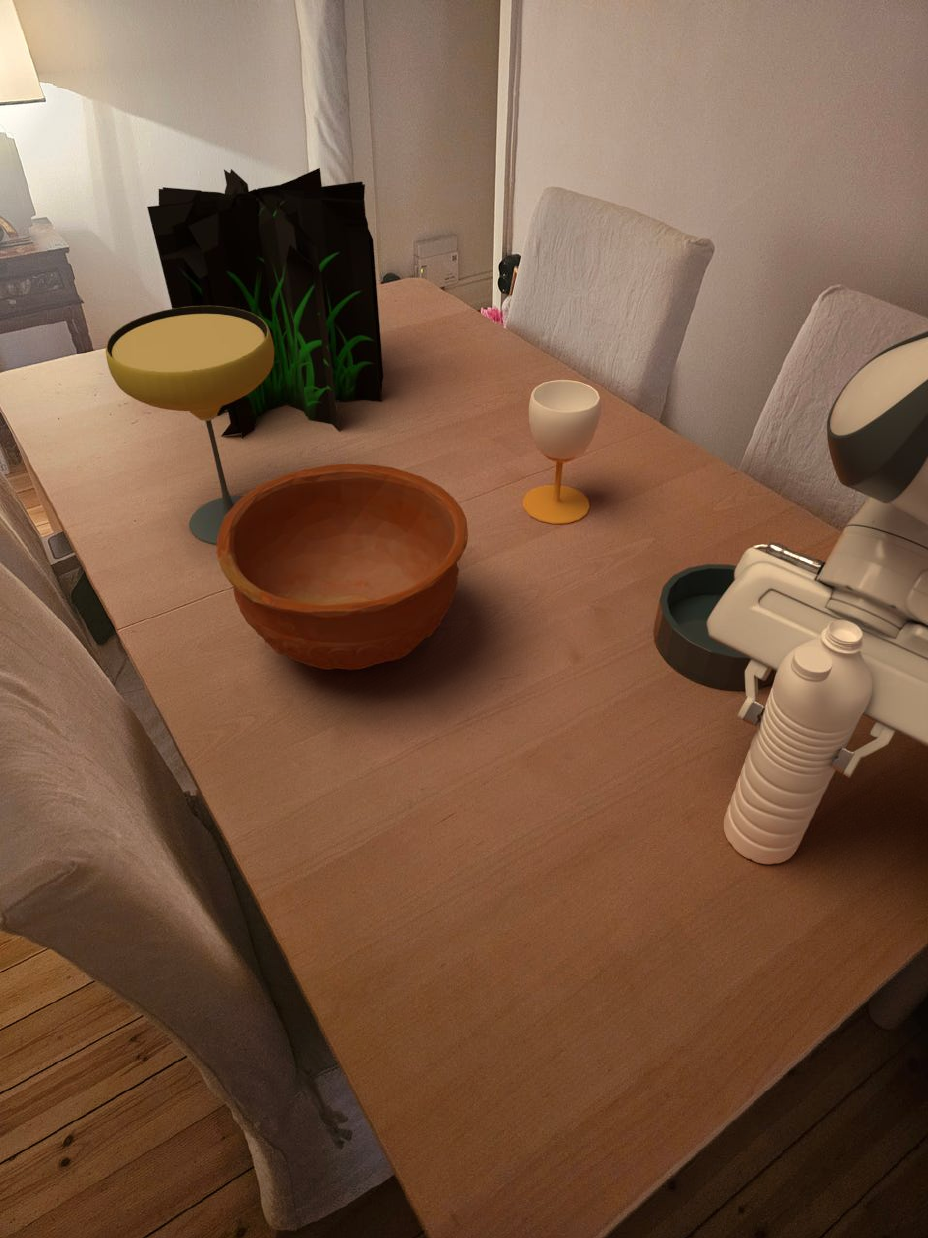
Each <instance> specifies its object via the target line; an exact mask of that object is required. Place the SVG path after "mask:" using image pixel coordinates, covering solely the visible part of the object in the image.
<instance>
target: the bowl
mask: <svg viewBox="0 0 928 1238" xmlns="http://www.w3.org/2000/svg"><path fill="white" fill-rule="evenodd" d="M468 530H469V529H468V521H467V517H466V515H465V512H464V510H463V507H461V506H460V504H459V502H457V500H456V499H455V498H454V497H453V496H452V495H451V494H450V493H449V492H448V491H447V490H446V489H444V488H443V487H442V486H440V485H439V484H436V483H435V482H433V481H431V480H429V479H427V478H425V477H423V476H420V475H418V474H415V473H412V472H409V471H406V470H402V469H399V468H395V467H393V466H386V465H379V464H378V465H377V464H371V463H370V464H369V463H362V464H361V463H341V464H340V463H339V464H326V465H322V466H316V467H311V468H305V469H301V470H297V471H294V472H290V473H286V474H283V475H280V476H278V477H275V478H273V479H271V480H268V481H266V482H263V483H261V484H260V485H258V486H257V487H256V488H254V489H253V490H251V491H249V492H248V493H247V494H245V495H244V497H242V498H241V499H239V501H238V502H237V503H236V504H235V505H234V506H233V507H232V509H231V510H230V511H229V512H228V513H227V515H226V516H225V517H224V520H223V522H222V525H221V528H220V530H219V533H218V537H217V544H216V556H217V559H218V563H219V567H220V570H221V571H222V573H223V574H224V576H225V577H226V579H227V580H228V582H229V583H230V584H231V585H232V590H233V595H234V599H235V602H236V604H237V605H238V608H239V612H240V613H241V615H242V617H243V618H244V620H245V621H246V623H247V624H248V625H249V626H251V628H252V629H253V630H254V631H255V633H256V634H257V635H258V636H260V637H261V638H262V639H263V641H264V642H265V643H267V644H268V645H269V646H270V647H271V648H272V649H273V650H274V652H275V653H276V654H278V655H283V654H284V655H286V656H288V657H289V658H290V659H293V660H295V661H297V662H299V663H302V664H306V665H308V666H312V667H316V668H319V669H323V670H334V669H341V670H353V671H354V670H361V669H365V668H370V667H371V666H374V665H376V664H382V663H385V662H393V661H397V660H399V659H402V658H404V657H405V656H407V655H408V654H409V653H410V652H412V651H413V650H414V649H415V648H416V647H417V646H418V645H419V644H420V643H421V642H423V640H424V639H425V638H430V637H431V636H432V635H433V633H434V632H435V630H436V628H437V627H439V626H440V624H441V623H442V622H441V621H442V620H443V618H444V616H445V615H446V613H447V612H448V610H449V608H450V606H451V604H452V601H453V600H454V598H455V594H456V590H457V586H458V577H459V572H460V570H459V566H458V562H459V561H460V559H461V558H462V555H463V554H464V552H465V550H466V548H467V545H468V540H469V531H468Z"/></svg>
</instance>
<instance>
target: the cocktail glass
mask: <svg viewBox="0 0 928 1238" xmlns="http://www.w3.org/2000/svg"><path fill="white" fill-rule="evenodd" d="M105 357H106V362H107V365H108V369H109V372H110V375H111V377H112V378H113V380H114V382H115V384H116V385H117V387H118V388H119V389H120V390H121V391H122V392H123V393H124V394H126V395H128V397H131V398H133V399H134V400H136V401H138V402H140V403H143V404H145V405H148V406H151V407H153V408H158V409H163V410H167V411H175V412H189V413H191V414H192V415H193V416H194V417H196V418H197V419H198V420H201V421H204V422H205V424H206V427H207V432H208V437H209V440H210V444H211V448H212V449H211V450H212V454H213V458H214V463H215V466H216V471H217V474H218V481H219V485H220V490H221V497H219V498H215V499H213V500H210V501H208V502H206V503H204V504H203V505H201V506H200V507H198V508H197V509H196V510H195V511H194V512H193V514H192V515H191V516H190V519H189V524H188V525H189V527H188V528H189V531H190V532H191V534H192V535H193V536H194V537H195V538H196V539H198V540H199V541H202V542H203V543H207V544H211V545H217V537H218V533H219V530H220V528H221V525H222V522H223V520H224V517H225V516H226V515H227V513H228V512H229V511H230V510H231V509H232V507H233V506H234V505H235V504H236V503H237V502H238V501H239V499H241V498H242V497H244V496H245V495H241V494H240V495H238V494H237V495H230V492H229V488H228V485H227V481H226V478H225V474H224V469H223V466H222V461H221V458H220V453H219V449H218V445H217V439H216V436H215V431H214V427H213V423H212V420H214V419H215V418H216V417H217V416H218V415H217V414H218V412H219V410H220V408H221V407H222V406H223V405H226V404H229V403H231V402H233V401H235V400H237V399H240V398H242V397H243V396H245V395H247V394H248V393H250V392H251V391H253V390H254V389H255V388H256V387H257V386H258V385H260V384H261V383H262V382H263V380H264V379H265V378H266V377H267V375H268V374H269V373H270V371H271V368H272V366H273V363H274V345H273V340H272V337H271V333H270V330H269V328H268V326H267V325H266V323H265V322H264V321H263V320H262V319H261V318H259V317H258V316H256V315H254V314H252V313H250V312H247V311H244V310H240V309H236V308H230V307H223V306H191V307H182V308H175V309H172V308H170V309H164V310H160V311H156V312H153V313H150V314H146V315H143V316H141V317H139V318H136V319H133V320H131V321H129V322H128V323H126V324H124V325H122V326H121V327H119V328H118V329H116V330H115V331H114V332H113V333H112V334H111V336H110V337H109V338H108V340H107V342H106V346H105Z"/></svg>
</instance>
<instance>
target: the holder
mask: <svg viewBox="0 0 928 1238" xmlns="http://www.w3.org/2000/svg"><path fill="white" fill-rule="evenodd" d="M736 566H737V565H734V564H730V563H729V564H726V563H722V564H721V563H706V564H700V565H695V566H691V567H687V568H685V569H683V570H681V571H679V572H677V573H675V574H673V575H672V576H671V577H670V578H669V580H667V581H666V582H665V584H664V585H663V587H662V588H661V593H660V596H659V600H658V606H657V610H656V614H655V618H654V619H655V620H654V623H653V641H654V643H655V647H656V649H657V651H658V653H659V654H660V656H661V657H662V658H663V660H664V661H665V662H666V663H667V664H668V665H669V666H670V667H671V668H672V669H673V670H675V671H676V672H677V673H678V674H680V675H682V676H683V677H685V678H687V679H689V680H691V681H692V682H695V683H697V684H700V685H702V686H706V687H709V688H713V689H716V690H722V691H732V692H733V691H734V692H742V691H745V692H746V687H745V670H746V668H747V666H748V664H749V663H750V661H751V658H749V657H747V656H745V655H743V654H741V653H739V652H737V651H735V650H733V649H731V648H729V647H726V646H724V645H722V644H721V643H719V642H717V641H715V640H713V639H712V638H711V637H710V636H709V634H708V630H707V620H708V618H709V616H710V614H711V613H712V611H713V610H714V608H715V606H716V605H717V603H718V602H719V600H720V599H721V598H722V596H723V595H724V593H725V592H726V591H727V589H728V588H729V587H730V585H731V584H732V583H733V582H734V570H735V568H736ZM776 673H777V671H775V670H773V669H772V670H771V672H770V673H769V675H768V677H767V679H766V680H765V681H763V680H761V679H759V678H758V689H761V688H765V687H767V686H769V685H773V683H774V679H775V676H776Z"/></svg>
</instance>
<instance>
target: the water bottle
mask: <svg viewBox="0 0 928 1238" xmlns="http://www.w3.org/2000/svg"><path fill="white" fill-rule="evenodd" d="M862 636H863V633H862V631H861V629H860V628H859V627H858V626H857V625H855V624H854V623H852V622H849V621H845V620H836V621H833V622H831V623H830V624H829V625H828V627H827V628H826V629H824V630H823V631H822V633H821V637H819V638H817V639H814V640H812V641H809V642H807V643H805V644H802V645H800V646H798V647H796V648H795V649H793V650H792V651H791V652H790V653H789V654H788V655H787V656H786V657H785V658H784V659H783V661H782V662H781V664H780V666H779V668H778V671H777V673H776V676H775V679H774V682H773V683H772V687H771V689H770V692H769V695H768V697H767V700H766V703H765V705H764V706H765V709H764V711H763V713H762V716H760V718H761V719H760V722H759V724H758V725H757V726H756V727H757V728H756V731H755V733H754V735H753V737H752V740H751V742H750V747H749V749H748V751H747V753H746V756H745V760H744V763H743V765H742V767H741V770H740V774H739V777H738V779H737V780H736V784H735V787H734V788H735V789H734V790H733V793H732V795H731V797H730V802H729V803H728V806H727V808H726V813H725V814H724V817H723V831H724V834H725V837H726V840H727V842H728V843H729V844H730V845H731V846H732V848H733V849H734V851H736V853H738V854H740V855H741V856H743V857H744V858H745V859H748V860H752V862H754V863H757V864H763V865H774V864H781V863H784V862H786V861H788V860H789V859H790V858H792V857H793V855H794V854H795V853H796V852H797V850H798V849H799V846H800V845H801V842H802V840H803V838H804V835H805V833H806V831H807V829H808V828H809V825H810V823H811V821H812V819H813V818H814V815H815V813H816V810H817V809H818V807H819V805H820V803H821V801H822V799H823V796H824V794H825V793H826V791H827V788H828V786H829V784H830V781H831V780H832V778H833V776H834V774H835V772H836V770H834V769H833V768H831V765H832V763H833V761H834V760H835V759H837V758H838V755H837V754H838V753H839V751H840V749H841V747H843V748H846V749H847V746H848V745H849V742H850V741H851V738H852V736H853V734H854V732H855V730H856V728H857V726H858V724H859V722H860V719H861V718H862V716H863V712H864V711H865V709H866V707H867V705H868V703H869V700H870V698H871V694H872V679H871V675H870V672H869V669H868V667H867V665H866V663H865V661H864V659H863V657H862V655H861V652H860V650H861V648H862V646H863V642H862Z"/></svg>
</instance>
